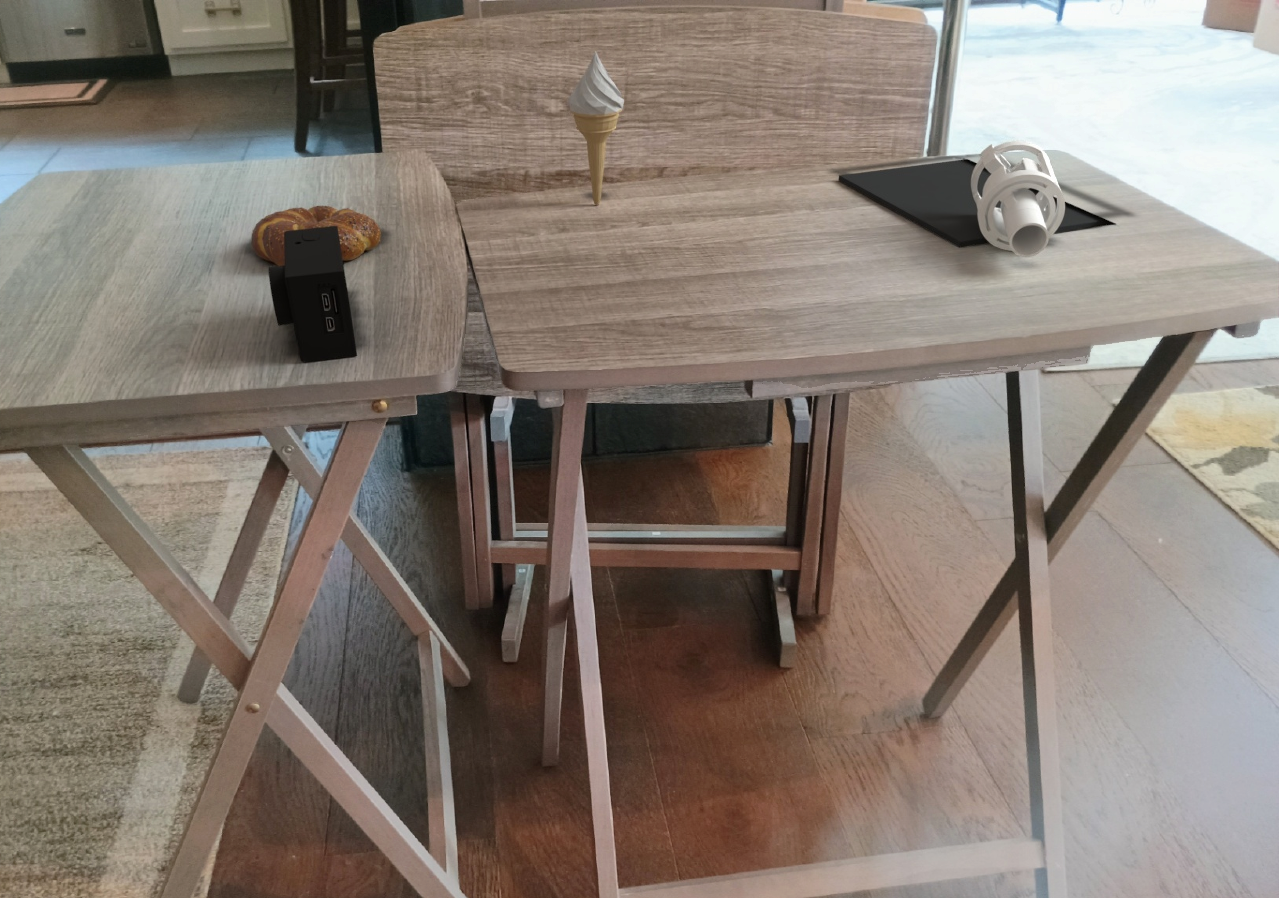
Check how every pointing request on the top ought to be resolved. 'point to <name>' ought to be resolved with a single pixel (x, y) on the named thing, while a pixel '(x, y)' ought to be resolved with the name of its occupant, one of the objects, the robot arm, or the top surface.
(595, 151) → the ice cream cone
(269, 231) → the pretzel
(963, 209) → the mat
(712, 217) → the top surface
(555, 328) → the top surface
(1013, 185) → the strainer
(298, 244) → the digital camera
